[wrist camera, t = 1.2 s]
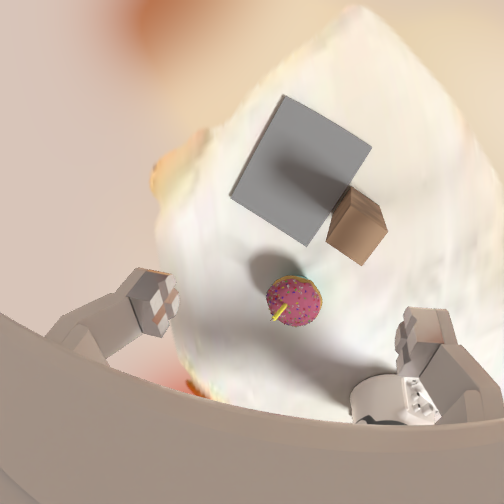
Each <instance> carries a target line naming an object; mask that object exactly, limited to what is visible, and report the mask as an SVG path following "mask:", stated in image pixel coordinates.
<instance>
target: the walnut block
mask: <svg viewBox="0 0 504 504" xmlns="http://www.w3.org/2000/svg"><path fill="white" fill-rule="evenodd" d="M387 232H388V230H387V227H386V224H385V221H384V218H383V215H382V212H381V209H380V207H379V205H377V204H376V203H374V202H373V201H372V200H370V199H369V198H367V197H366V196H365V195H363V194H362V193H360V192H359V191H357V190H356V189H354V188H353V187H352V186H351V187H350V189H349V190H348V192H347V193H346V195H345V197H344V198H343V200H342V201H341V203H340V204H339V206H338V207H337V209H336V210H335V211H334V213H333V215H332V219H331V223H330V227H329V231H328V235H327V238H326V242H327V243H328V244H330V245H331V246H333V247H334V248H336V249H337V250H339V251H340V252H342V253H343V254H344V255H346V256H347V257H349V258H350V259H352V260H353V261H355V262H356V263H358V264H359V265H360V266H362V265H363V264H364V262H365V261H366V260H367V259H368V257H369V256H370V255H371V254H372V252H373V251H374V250H375V248H376V247H377V246H378V244H379V243H380V242H381V240H382V239H383V238H384V236H385V235H386V234H387Z"/></svg>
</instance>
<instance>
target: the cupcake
mask: <svg viewBox="0 0 504 504" xmlns="http://www.w3.org/2000/svg"><path fill="white" fill-rule="evenodd" d="M266 296H267V298H266V300H267V303H268V306H269V310H270V311H271V312H272V313H271V314H272V315H274V316H273V317H272V320H270V322H271V321H276V320H277V319H278V320H279V321H281V322H282V323H284V324H287V325H291V326H294V327H297V326H302V325H306V324H308V323H310V322H312V321H313V320H314V319H315V318H316V317H317V315H318V313H319V311H320V309H321V306H322V297H321V294H320V292H319V291H318V289H317V287H316V286H315V285H314V283H313V282H312V281H311V280H308V279H307V278H305V277H303V276H284V277H282V278H280V279H278V280H276V281H275V282H274V284H273V285H272V286H271V288H270V289H269V290H268V292H267V295H266Z"/></svg>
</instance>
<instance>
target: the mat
mask: <svg viewBox="0 0 504 504" xmlns="http://www.w3.org/2000/svg"><path fill="white" fill-rule="evenodd" d="M371 149H372V147H371V146H369V145H368V144H367V143H365V142H364V141H362V140H360V139H359V138H357V137H356V136H354V135H353V134H351V133H350V132H348V131H346V130H345V129H343V128H342V127H340V126H338V125H337V124H335V123H334V122H332V121H330V120H328V119H327V118H325V117H323V116H322V115H320V114H318V113H317V112H315V111H313V110H311V109H309V108H308V107H306V106H304V105H302V104H300V103H299V102H297V101H295V100H293V99H291V98H289V97H287V96H285V98H284V100H283V102H282V103H281V105H280V107H279V109H278V110H277V112H276V114H275V116H274V118H273V119H272V121H271V123H270V125H269V127H268V128H267V130H266V132H265V134H264V136H263V138H262V139H261V141H260V143H259V145H258V147H257V149H256V151H255V152H254V154H253V156H252V158H251V160H250V162H249V164H248V166H247V167H246V169H245V171H244V173H243V175H242V177H241V179H240V181H239V183H238V185H237V187H236V188H235V190H234V192H233V194H232V196H231V199H232V200H234V201H236V202H237V203H239V204H240V205H242V206H244V207H245V208H247V209H248V210H250V211H252V212H253V213H255V214H256V215H258V216H259V217H261V218H263V219H264V220H266V221H267V222H269V223H270V224H272V225H274V226H275V227H277V228H278V229H280V230H281V231H283V232H284V233H286V234H287V235H289V236H290V237H292V238H294V239H295V240H297V241H298V242H300V243H301V244H303V245H304V246H306V247H307V246H308V244H309V243H310V241H311V240H312V239H313V237H314V236H315V234H316V233H317V231H318V230H319V228H320V227H321V225H322V224H323V222H324V221H325V219H326V218H327V216H328V215H329V213H330V212H331V210H332V209H333V207H334V206H335V204H336V203H337V201H338V200H339V198H340V197H341V195H342V194H343V192H344V191H345V189H346V188H347V186H348V185H349V183H350V182H351V180H352V179H353V177H354V175H355V174H356V172H357V171H358V169H359V168H360V166H361V165H362V163H363V161H364V160H365V158H366V157H367V155H368V154H369V152H370V150H371Z"/></svg>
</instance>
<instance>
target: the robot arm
mask: <svg viewBox="0 0 504 504" xmlns="http://www.w3.org/2000/svg"><path fill="white" fill-rule="evenodd" d="M175 285H176V279H175V276H174V275H173V274H169V273H164V272H159V271H154V270H148V269H143V268H136V269H134V271H133V272H132V273H131V274H130V275H129V276H128V278H127V279H126V280H125V281H124V282H123V283H122V285H121V286H120V287H119V288H118V289H117V291H116V292H115V293H110V294H107V295H105V296H103V297H101V298H99V299H97V300H95V301H93V302H90V303H88V304H86V305H84V306H82V307H80V308H78V309H76V310H74V311H71V312H69V313H67V314H65V315H63V316H62V317H61V318H60V319H59V320H58V321H57V323H56V324H55V325H54V326H53V327H52V328H51V330H50V331H49V332H48V333H47V335H46V336H45V337H43V336H41V335H39V334H37V333H35V332H33V331H32V330H30V329H28V328H26V327H24V326H23V325H21V324H19V323H17V322H16V321H14V320H12V319H10V318H9V317H7V316H5V315H4V314H2V313H0V504H504V403H503V398H502V394H501V390H500V387H499V386H498V385H497V383H496V382H495V381H494V380H493V379H492V378H491V377H490V375H489V374H488V373H487V372H486V371H485V370H484V369H483V368H482V367H481V365H480V364H479V363H478V362H477V361H476V360H475V359H474V358H473V357H472V356H471V355H470V354H469V352H468V351H467V350H466V349H465V348H464V347H463V346H462V345H458V343H457V339H456V336H455V332H454V329H453V325H452V322H451V319H450V315H449V312H448V311H447V310H446V309H435V308H434V309H432V308H420V307H409V306H408V307H407V308H406V309H405V312H404V314H403V317H404V321H403V322H401V323H400V324H399V326H398V328H397V331H396V336H395V351H396V352H397V353H398V354H399V356H398V358H397V360H396V367H397V374H385V375H378V376H374V377H371V378H368V379H366V380H364V381H362V382H361V383H359V384H358V385H357V386H356V387H355V388H354V389H353V391H352V392H351V395H350V403H351V408H352V420H353V423H342V422H332V421H322V420H314V419H306V418H299V417H292V416H286V415H280V414H274V413H269V412H263V411H258V410H253V409H248V408H243V407H239V406H234V405H230V404H226V403H222V402H217V401H213V400H210V399H206V398H202V397H198V396H195V395H191V394H187V393H184V392H180V391H177V390H174V389H171V388H168V387H164V386H161V385H158V384H155V383H152V382H149V381H146V380H143V379H140V378H138V377H135V376H132V375H129V374H127V373H124V372H121V371H119V370H116V369H114V368H111V367H110V365H109V364H108V362H107V361H106V359H107V358H108V357H110V356H111V355H113V354H114V353H116V352H117V351H118V350H120V349H122V348H123V347H124V346H126V345H127V344H129V343H130V342H132V341H133V340H135V339H136V338H138V337H139V336H141V335H142V333H144V334H148V335H152V336H156V337H160V338H162V337H163V335H164V333H165V332H166V330H167V329H168V327H169V321H168V320H169V319H171V318H173V317H175V315H176V313H177V311H178V308H179V304H180V296H179V292H178V291H177V290H176V289H175V288H174V286H175ZM439 413H440V414H441V416H442V417H441V418H440V419H439V420H438V421H437V422H436V423H435V417H436V416H437V415H438V414H439Z"/></svg>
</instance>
